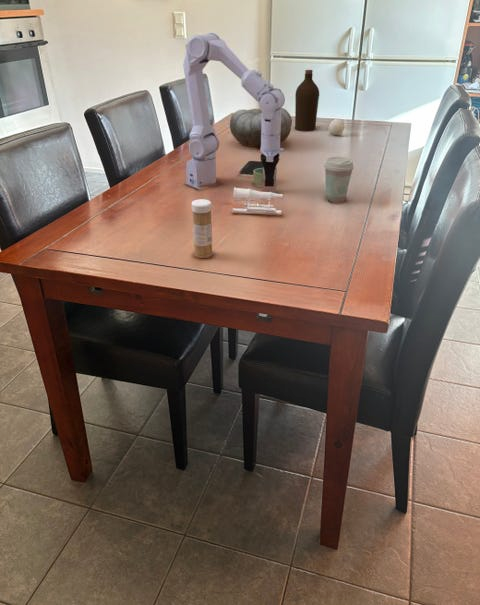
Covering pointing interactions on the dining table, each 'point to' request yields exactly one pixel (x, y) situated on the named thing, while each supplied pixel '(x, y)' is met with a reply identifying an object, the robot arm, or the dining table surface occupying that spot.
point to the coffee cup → (337, 178)
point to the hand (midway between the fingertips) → (269, 178)
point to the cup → (258, 176)
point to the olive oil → (306, 104)
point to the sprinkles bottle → (202, 228)
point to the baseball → (336, 127)
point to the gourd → (255, 126)
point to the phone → (251, 167)
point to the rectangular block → (269, 183)
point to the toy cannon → (256, 195)
